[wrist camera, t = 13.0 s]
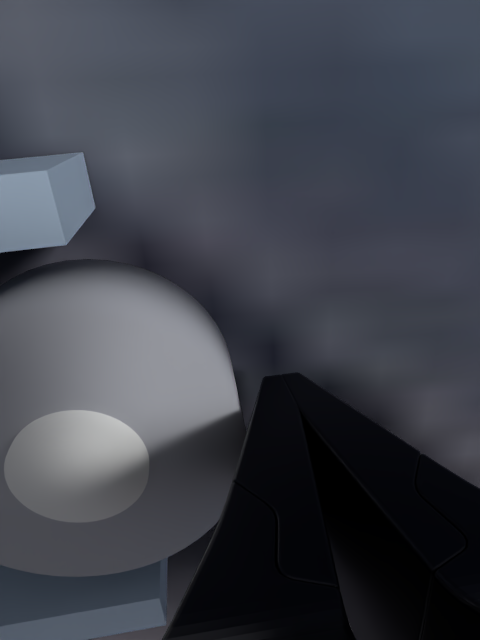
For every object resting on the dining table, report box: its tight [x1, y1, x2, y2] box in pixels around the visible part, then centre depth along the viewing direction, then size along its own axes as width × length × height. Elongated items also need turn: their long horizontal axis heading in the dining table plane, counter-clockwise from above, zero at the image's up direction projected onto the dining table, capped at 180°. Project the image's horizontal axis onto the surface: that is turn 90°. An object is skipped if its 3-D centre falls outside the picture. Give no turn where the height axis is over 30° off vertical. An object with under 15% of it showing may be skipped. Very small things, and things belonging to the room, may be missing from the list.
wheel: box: [0, 259, 246, 577], centre depth 9 cm, size 6×6×3 cm
